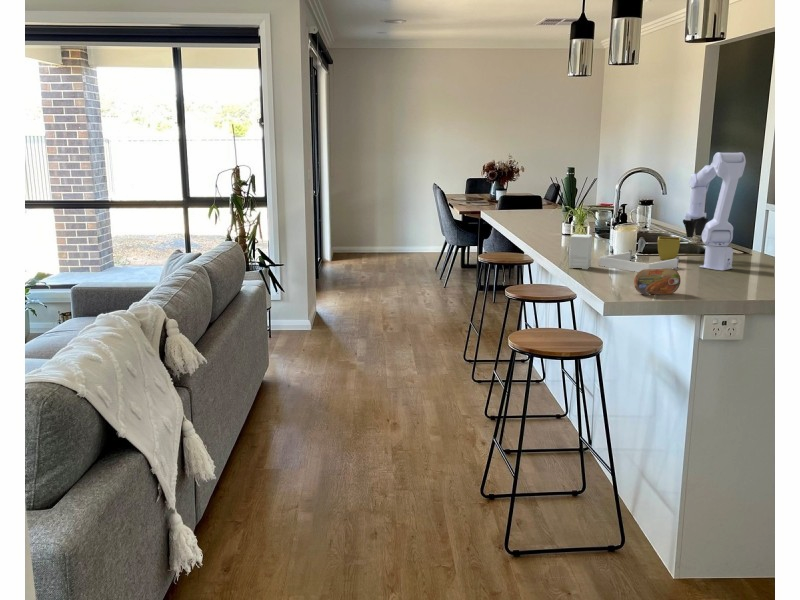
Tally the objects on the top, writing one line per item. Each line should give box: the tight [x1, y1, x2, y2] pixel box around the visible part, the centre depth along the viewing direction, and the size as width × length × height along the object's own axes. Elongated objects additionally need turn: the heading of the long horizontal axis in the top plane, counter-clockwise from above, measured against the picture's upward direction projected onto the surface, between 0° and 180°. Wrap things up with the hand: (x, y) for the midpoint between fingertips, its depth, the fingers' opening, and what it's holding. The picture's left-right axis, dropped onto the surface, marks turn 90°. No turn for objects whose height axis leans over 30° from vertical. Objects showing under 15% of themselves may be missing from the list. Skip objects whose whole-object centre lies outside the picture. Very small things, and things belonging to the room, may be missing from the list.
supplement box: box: [568, 233, 593, 270], centre depth 269 cm, size 7×7×13 cm
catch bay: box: [598, 249, 680, 273], centre depth 272 cm, size 22×21×4 cm
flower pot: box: [657, 236, 681, 261], centre depth 288 cm, size 9×9×9 cm
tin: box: [633, 268, 681, 296], centre depth 223 cm, size 15×3×8 cm, turn 100°
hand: (694, 236), depth 287 cm, fingers open, 7 cm apart
